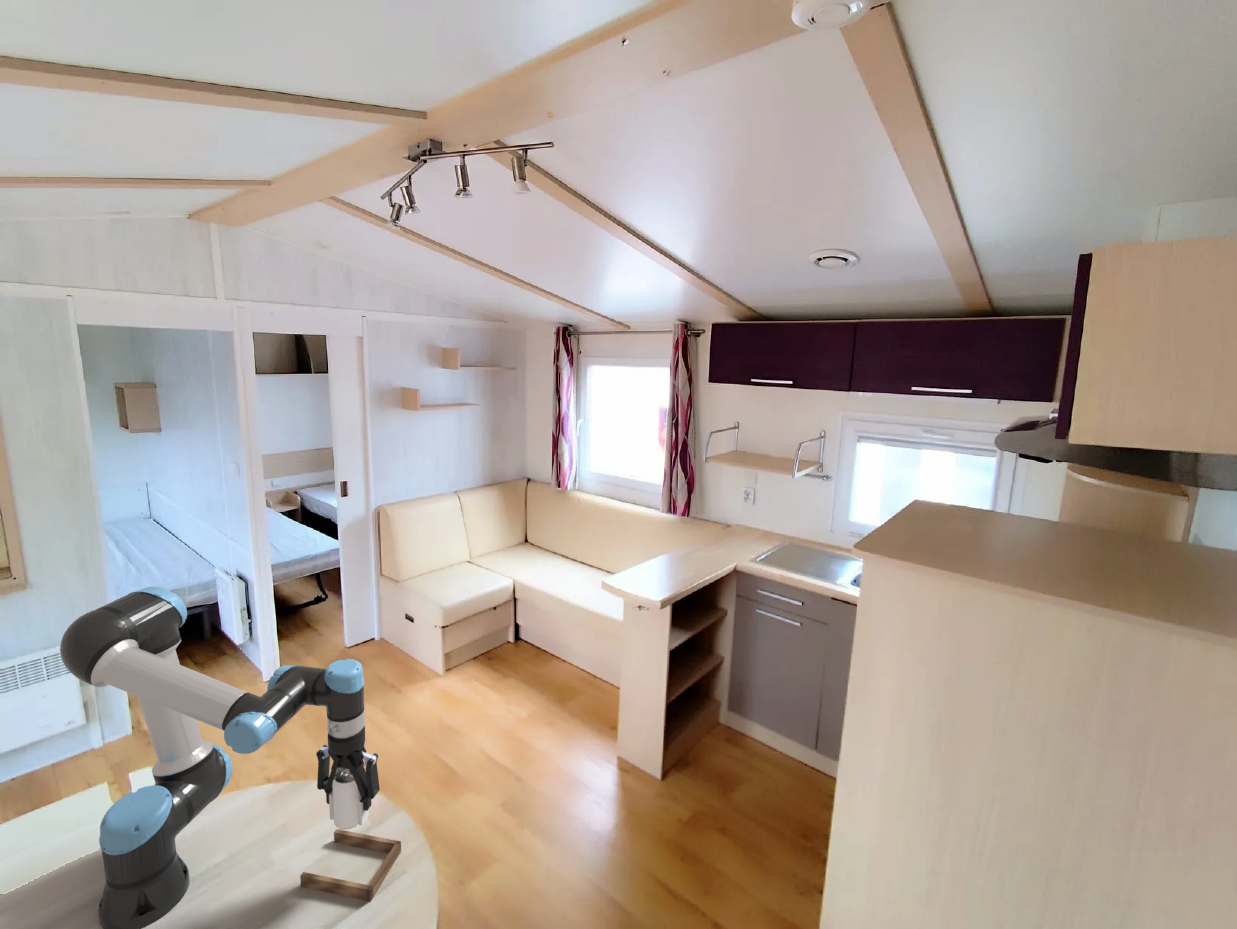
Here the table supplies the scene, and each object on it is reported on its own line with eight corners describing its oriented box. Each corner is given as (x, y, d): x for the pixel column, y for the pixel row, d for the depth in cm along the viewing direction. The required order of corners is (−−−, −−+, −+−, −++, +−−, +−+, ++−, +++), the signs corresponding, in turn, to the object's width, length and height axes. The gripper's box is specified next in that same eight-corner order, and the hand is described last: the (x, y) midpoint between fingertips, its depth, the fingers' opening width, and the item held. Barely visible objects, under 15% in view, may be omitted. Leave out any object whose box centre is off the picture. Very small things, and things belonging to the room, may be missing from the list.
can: (352, 833, 128) (351, 787, 125) (327, 827, 129) (325, 780, 126) (370, 811, 134) (369, 766, 131) (346, 805, 135) (344, 761, 133)
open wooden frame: (300, 886, 129) (300, 875, 128) (336, 839, 141) (336, 828, 141) (370, 901, 126) (370, 890, 126) (401, 851, 139) (400, 841, 138)
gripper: (294, 733, 124) (299, 823, 129) (377, 746, 122) (379, 838, 126) (317, 712, 131) (321, 798, 136) (396, 724, 129) (397, 812, 134)
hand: (349, 817), depth 131 cm, fingers closed on can, 6 cm apart
